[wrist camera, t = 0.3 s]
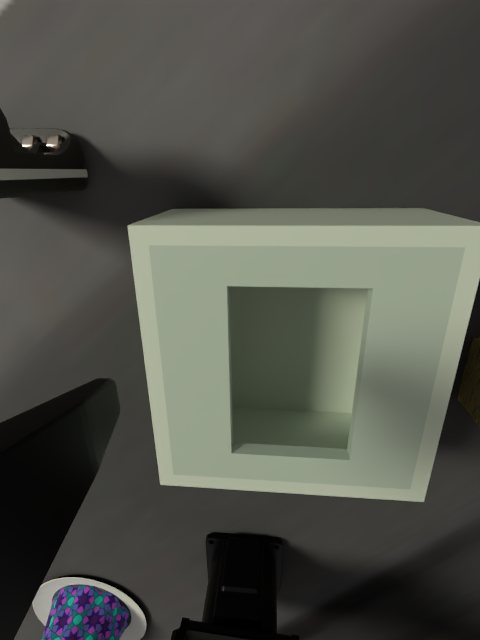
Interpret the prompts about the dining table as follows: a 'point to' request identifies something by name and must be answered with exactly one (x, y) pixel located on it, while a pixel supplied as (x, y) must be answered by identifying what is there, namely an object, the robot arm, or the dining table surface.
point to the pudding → (87, 612)
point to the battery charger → (39, 161)
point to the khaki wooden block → (471, 382)
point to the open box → (302, 344)
